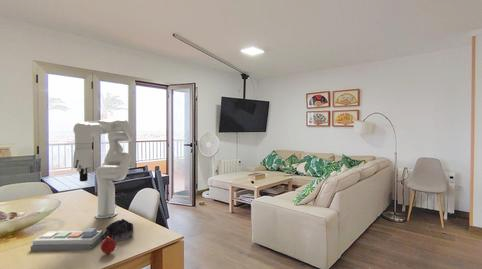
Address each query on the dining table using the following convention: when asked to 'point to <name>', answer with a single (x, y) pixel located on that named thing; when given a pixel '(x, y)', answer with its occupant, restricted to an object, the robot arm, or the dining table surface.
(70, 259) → the dining table surface
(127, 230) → the crystal cluster
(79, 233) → the key terracotta
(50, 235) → the key ivory
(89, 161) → the robot arm
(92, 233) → the key slate
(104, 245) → the onion
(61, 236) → the key sage
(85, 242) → the keypad board
